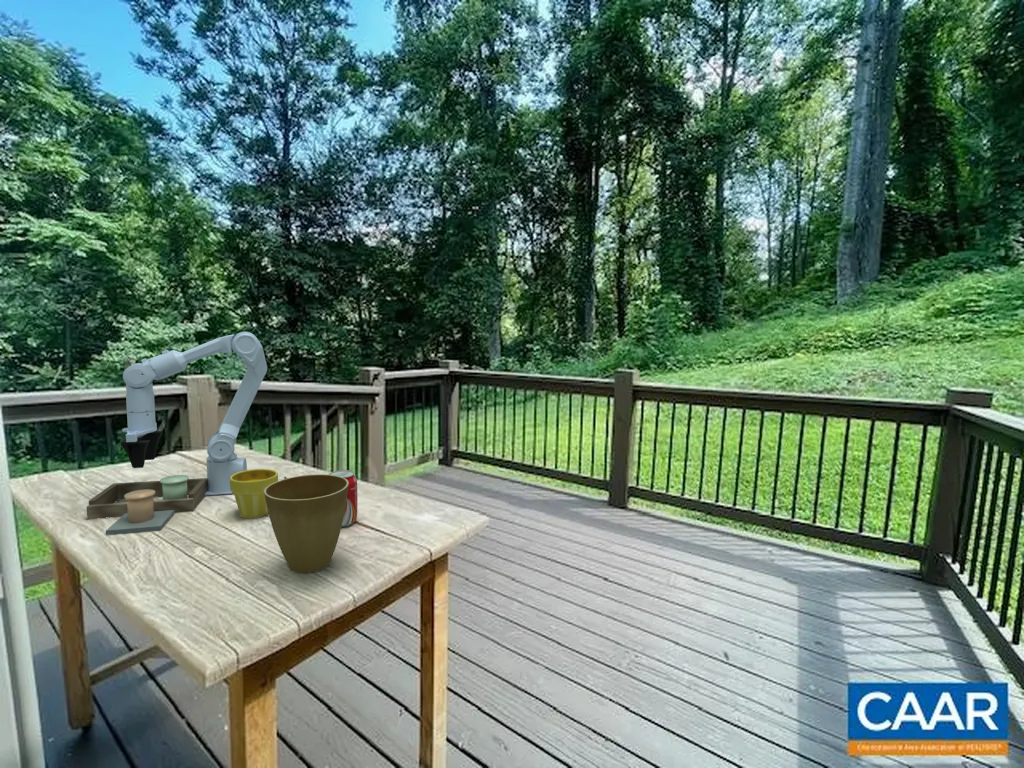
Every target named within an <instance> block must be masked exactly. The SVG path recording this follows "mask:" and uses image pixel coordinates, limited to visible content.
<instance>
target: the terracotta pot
mask: <svg viewBox="0 0 1024 768" xmlns="http://www.w3.org/2000/svg"><path fill="white" fill-rule="evenodd" d="M154 495H155V491H154V490H150V489H145V490H137V491H132V492H129V493H127V494H125V495H124V498H125V499H124V500H126V503H127V510H128V522H130V523H141V522H146V521H149V520H151V519H153V518H154V501H155V500H154V497H153V496H154Z"/></svg>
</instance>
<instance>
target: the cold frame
mask: <svg viewBox="0 0 1024 768" xmlns="http://www.w3.org/2000/svg"><path fill="white" fill-rule="evenodd" d="M145 489H150V490H154V491H155V495H154V496H153V498H163V497H162V496H163V489H162V484H161V483H160V480H151V481H133V482H118V483H117V482H116V483H112V484H110V485H109V486H108V487H106V488H105V489H103V490H101V491H100V492H99V493H97V494H96V495H95V496H94V497H92V498H90V499H89V500H88V505H87V506H86V507H85V508H86V520H98V519H97V518H100V519H107V518H106V517H109V518H108V519H110V517H113V518H121V517H122V516H123V515H124V514H127V513H128V510H127V502H117V501H118V499H121V500H126V499H125V498H124V495H125V494H127V493H129V492H132V491H137V490H145ZM187 491H188V498H186V499H171V500H163V499H159V500H158V499H157V500H153V501H154V511H167V510H175V514H177V513H190V512H194V511H195V510H196V508H197V507H198V506H199V504H200V503H201V502H202V501H203V500H204V498H205V497H206V496H205V493H206V492H207V491H208V482H207V477H204V478H189V480H188V481H187ZM202 499H203V500H202ZM115 501H116V502H117V503H116V502H115Z"/></svg>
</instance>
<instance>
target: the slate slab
mask: <svg viewBox="0 0 1024 768" xmlns="http://www.w3.org/2000/svg"><path fill="white" fill-rule="evenodd" d="M174 515H176V513H175V510H167V511H154V518H153V519H151V520H149V521H146V522H141V523H130V522H128V513H127V514H124V515H123V516H122V517H118V519H117V520H116V521H115V522H113V523H112V524H111V525H110V526H109V527H108V528H107V529H106V530H105V535H106V536H108V535H107V534H113V535H122V534H135V533H146V532H156V531H157V532H158V531H159V532H160V531H161V530H162V529H163V528H164V527H165V526H166V525H167V523H169V522H170V520H171V519H172V518H173V516H174ZM174 517H175V516H174Z"/></svg>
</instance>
